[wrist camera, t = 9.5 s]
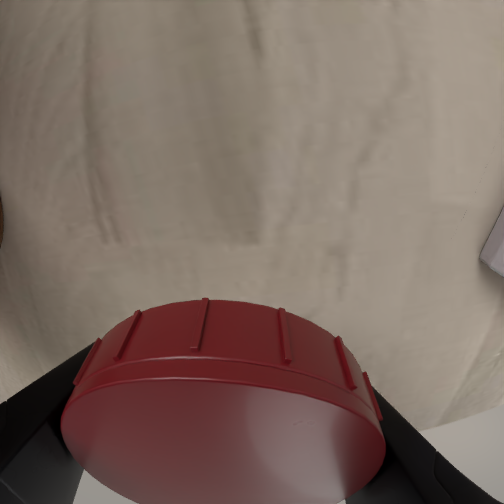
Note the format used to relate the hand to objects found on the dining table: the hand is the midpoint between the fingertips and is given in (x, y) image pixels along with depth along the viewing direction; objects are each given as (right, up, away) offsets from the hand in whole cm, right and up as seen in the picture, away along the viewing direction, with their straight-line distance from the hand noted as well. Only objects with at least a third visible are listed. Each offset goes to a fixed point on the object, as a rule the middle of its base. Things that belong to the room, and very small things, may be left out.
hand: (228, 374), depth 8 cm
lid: (0, -1, -3) cm, 3 cm away
